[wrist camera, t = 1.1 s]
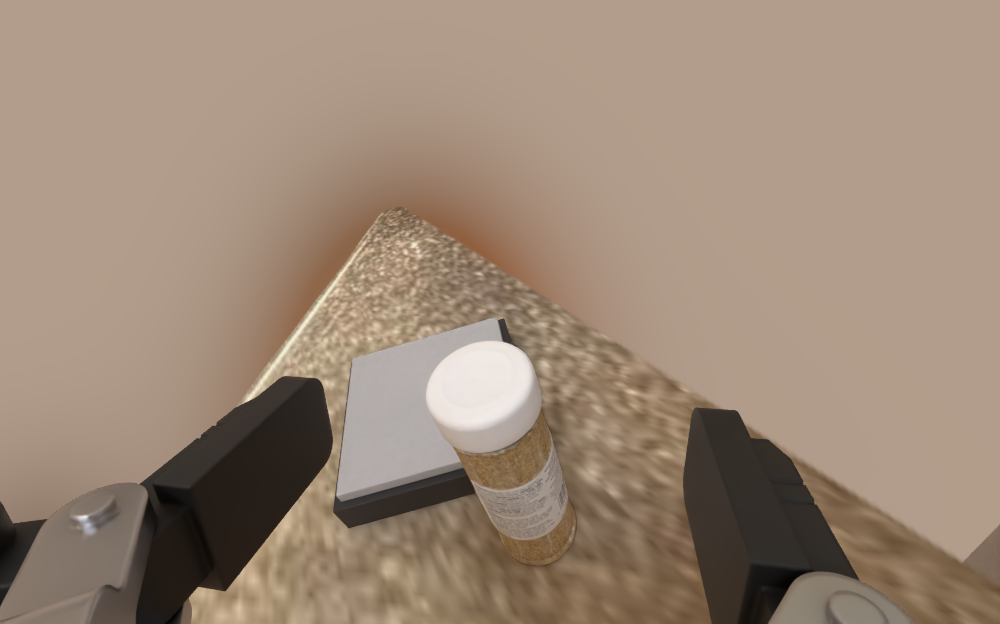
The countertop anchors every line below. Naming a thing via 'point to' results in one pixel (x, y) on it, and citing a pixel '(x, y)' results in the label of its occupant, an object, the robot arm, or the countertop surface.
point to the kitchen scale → (400, 430)
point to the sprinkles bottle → (505, 446)
